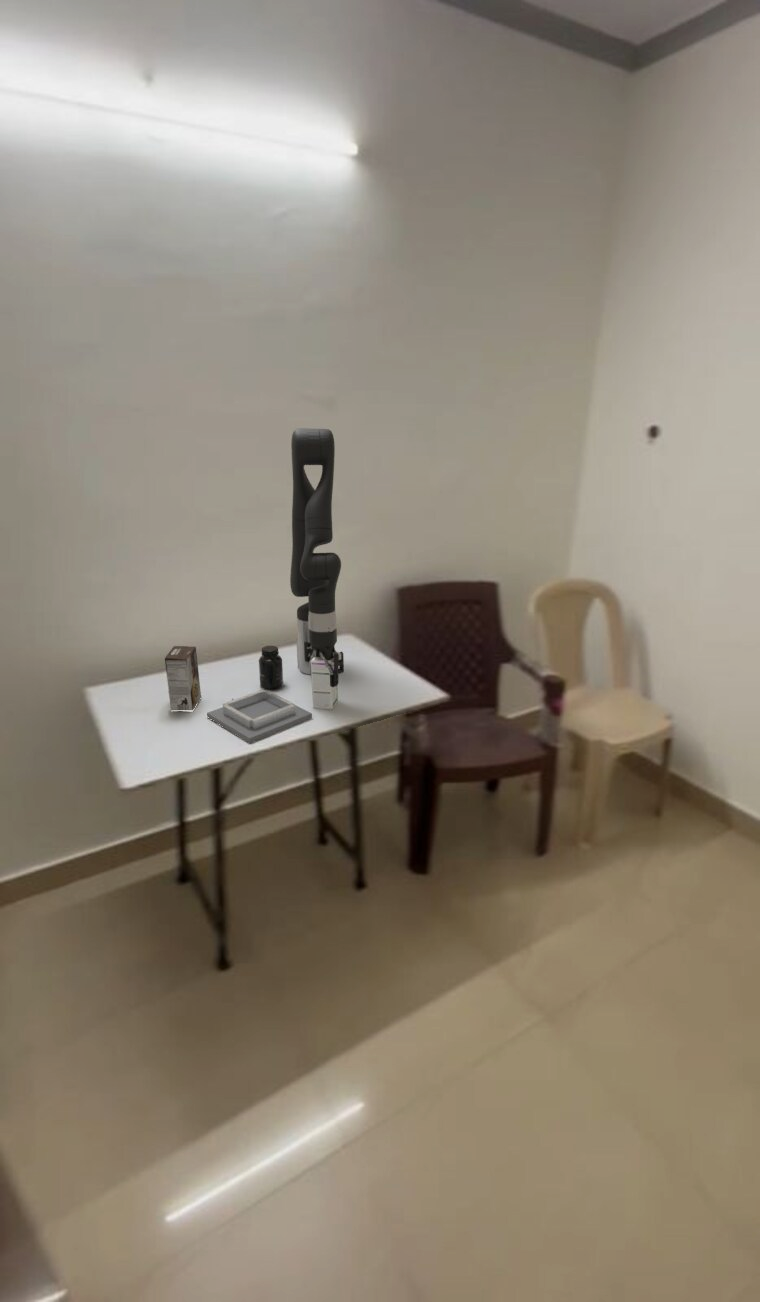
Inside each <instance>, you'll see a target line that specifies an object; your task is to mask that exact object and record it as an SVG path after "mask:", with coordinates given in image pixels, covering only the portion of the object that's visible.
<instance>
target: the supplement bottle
mask: <svg viewBox="0 0 760 1302" xmlns="http://www.w3.org/2000/svg"><path fill="white" fill-rule="evenodd" d="M279 654H280V653H279V647H278V646H277V645H265V646H263V647H261V656H260V657H259V658H258V669H259V673H258V674H259V685H260V687H261V688H262V690H266V689H267V690H268V691H274V690H278V689H281V688H282V687H283V685H284V673H283V667H284V666H283V658H282V657H281V655H279ZM267 690H266V691H267Z"/></svg>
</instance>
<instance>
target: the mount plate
mask: <svg viewBox="0 0 760 1302" xmlns="http://www.w3.org/2000/svg"><path fill="white" fill-rule="evenodd" d="M294 705H295V714H294V715H292V716H289V717H287V718H284V719H281V720H279V721H276V722H274V723H271V724H269V725H266V726H264V727H261V728H259V729H256V730H253V729H248V728H247V727H245V726H243V725H242V724H240V723H238V722H236V721H235V720H233V719H231V718H230V717H228V716H226V715H224V712H223V706H222V707H220V708H216V709H214V710H213V709H212V710H211V711H208V712H207V713H206V716H207V717H209V718H210V719H212V720H214V721H215V722H217V723H218V724H217V723H216V724H217V725H219V724H220V725H221V727H222V726H223V727H224V729H225V728H226V729H225V730H227V731H228V730H229V731H228V732H230V731H231V732H230V733H232V734H233V733H234V735H235V734H236V735H235V736H237V735H238V736H240V737H241V738H240V737H239V738H240V739H242V738H243V739H244V740H243V739H242V740H243V741H245V742H247V743H248V742H249V744H252V742H253V743H254V741H255V742H258V741H260V740H262V738H263V739H264V738H268V737H269V736H273V735H275V734H277V733H279V732H282V731H285V730H286V729H289V728H292V727H294V726H297V725H300V724H301V723H304V722H307V721H309V720H311V719H313V714H312V712H310V711H309V710H306V709H304V708H302V707H300V706H298V705H296V704H294ZM278 709H281V708H280V707H278V706H276V705H274V704H272V703H270V702H268V701H266V700H262V701H259V702H257V703H254V704H251V705H248V706H246V707H243V708H240V709H237V710H238V711H240V712H241V713H243V714H245V715H247V716H248V717H250V718H252V719H255V718H257V717H260V716H262V715H265V714H268V713H270V712H273V711H276V710H278ZM209 718H208V719H209ZM210 719H209V720H210ZM212 720H211V721H212ZM214 721H213V722H214ZM215 722H214V723H215ZM220 725H219V726H220ZM223 727H222V728H223ZM238 736H237V737H238Z"/></svg>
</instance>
